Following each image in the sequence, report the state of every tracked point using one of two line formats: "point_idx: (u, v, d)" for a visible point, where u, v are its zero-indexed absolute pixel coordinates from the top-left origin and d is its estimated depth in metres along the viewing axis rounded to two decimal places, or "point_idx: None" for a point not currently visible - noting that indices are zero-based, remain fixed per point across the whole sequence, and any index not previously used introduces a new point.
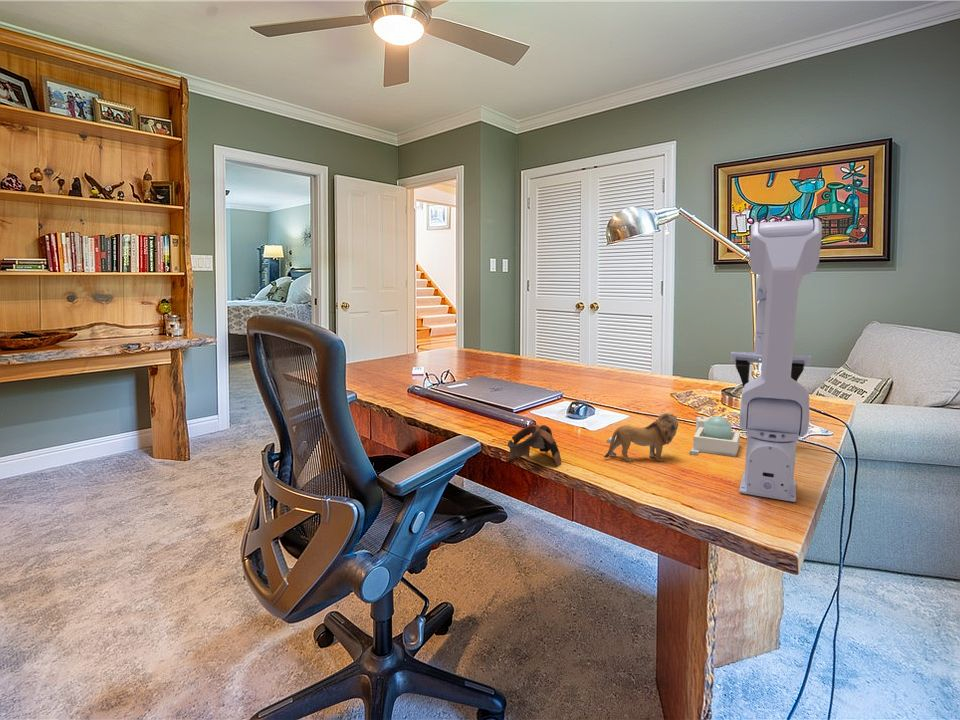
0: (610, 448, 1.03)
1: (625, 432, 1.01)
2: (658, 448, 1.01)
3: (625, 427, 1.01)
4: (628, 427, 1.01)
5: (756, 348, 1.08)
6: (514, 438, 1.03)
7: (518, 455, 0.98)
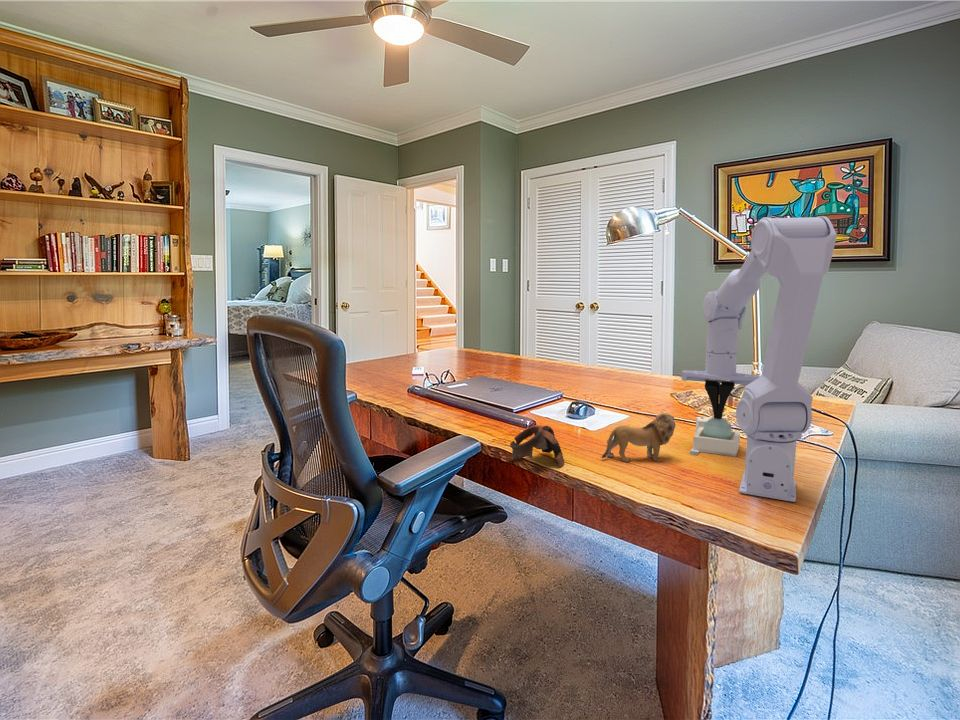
0: (607, 448, 1.03)
1: (623, 432, 1.01)
2: (655, 448, 1.00)
3: (622, 427, 1.01)
4: (625, 427, 1.01)
5: (706, 367, 1.06)
6: (516, 439, 1.03)
7: (521, 456, 0.98)
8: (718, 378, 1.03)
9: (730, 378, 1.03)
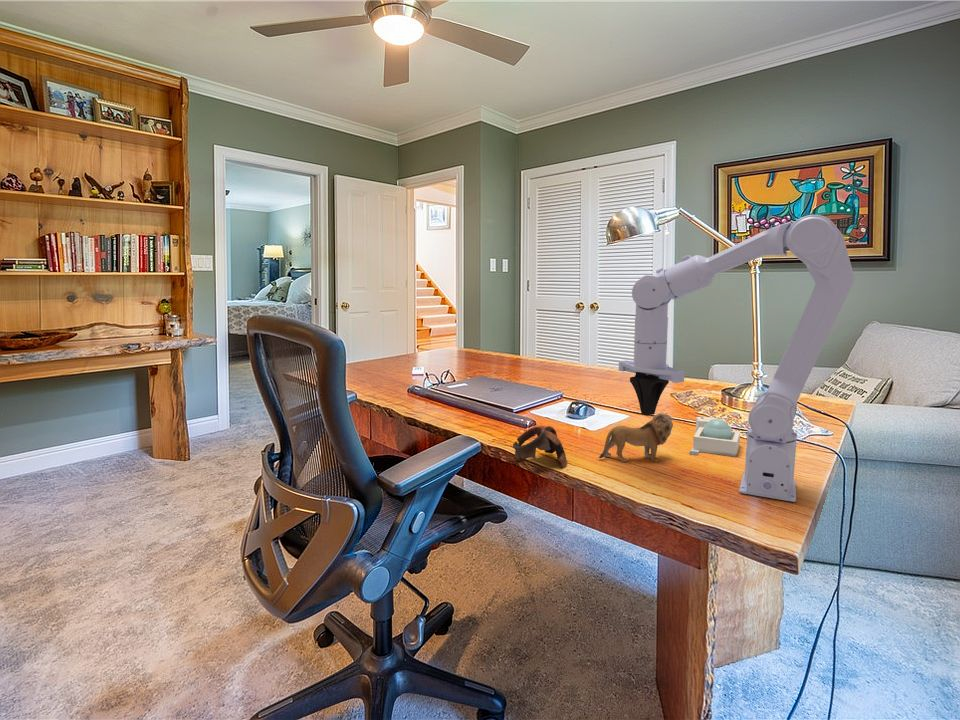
0: (605, 448, 1.03)
1: (620, 432, 1.01)
2: (652, 448, 1.00)
3: (620, 427, 1.01)
4: (623, 427, 1.01)
5: None
6: (519, 439, 1.02)
7: (524, 457, 0.97)
8: (637, 370, 0.95)
9: (647, 371, 0.93)
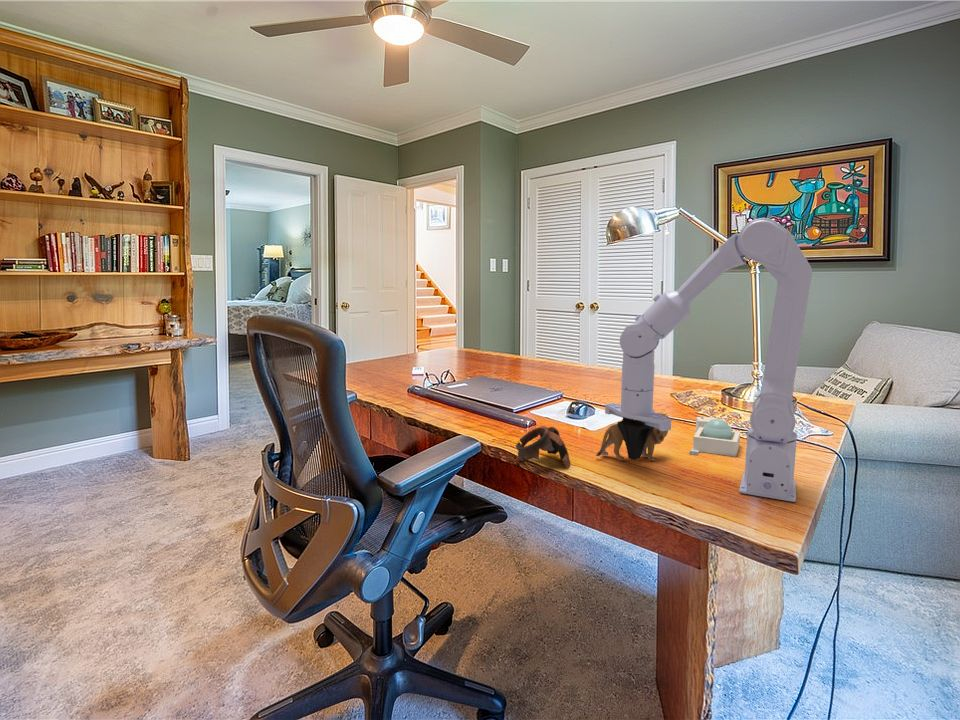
0: (602, 446, 1.03)
1: (618, 430, 1.01)
2: (649, 447, 1.01)
3: None
4: None
5: None
6: (522, 440, 1.02)
7: (527, 457, 0.97)
8: (624, 416, 0.96)
9: (635, 417, 0.94)
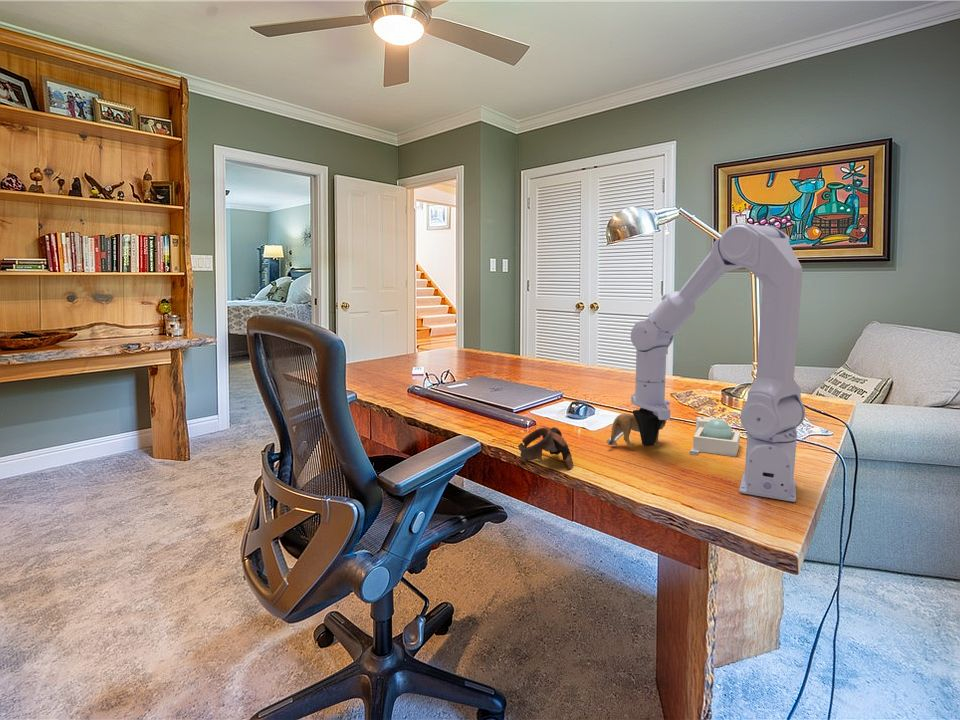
0: (612, 436, 1.09)
1: (625, 418, 1.08)
2: None
3: (624, 414, 1.09)
4: (627, 414, 1.09)
5: None
6: (524, 441, 1.01)
7: (530, 458, 0.96)
8: (635, 404, 1.05)
9: (642, 406, 1.03)
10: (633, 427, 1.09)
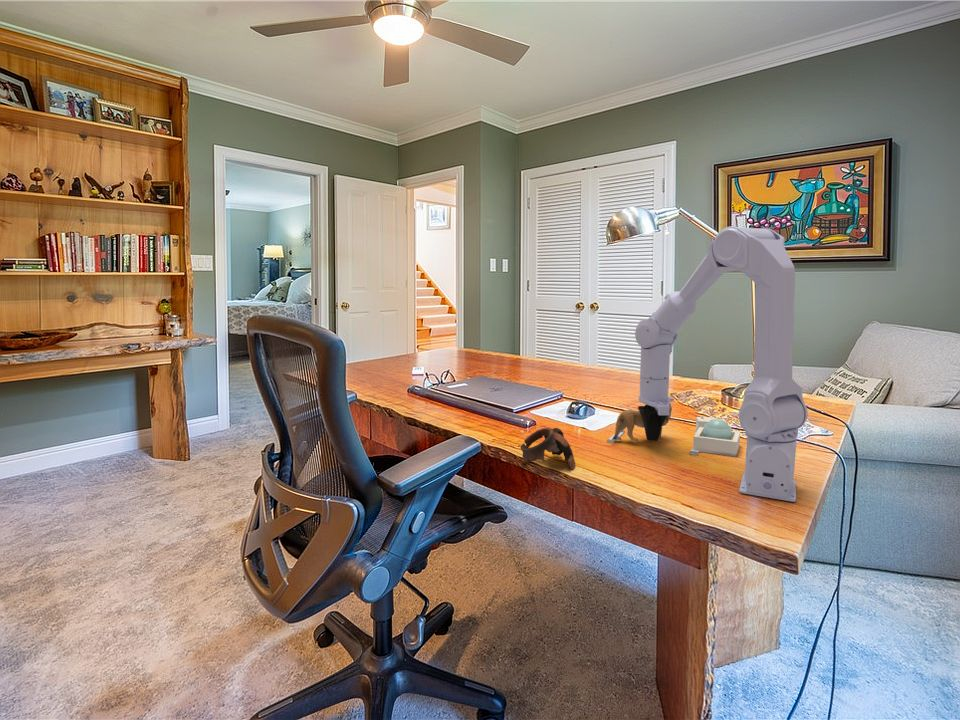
0: (616, 431, 1.12)
1: (629, 414, 1.11)
2: None
3: (628, 410, 1.12)
4: (631, 410, 1.12)
5: None
6: (526, 441, 1.01)
7: (532, 459, 0.96)
8: (639, 400, 1.09)
9: (644, 402, 1.07)
10: (637, 423, 1.12)
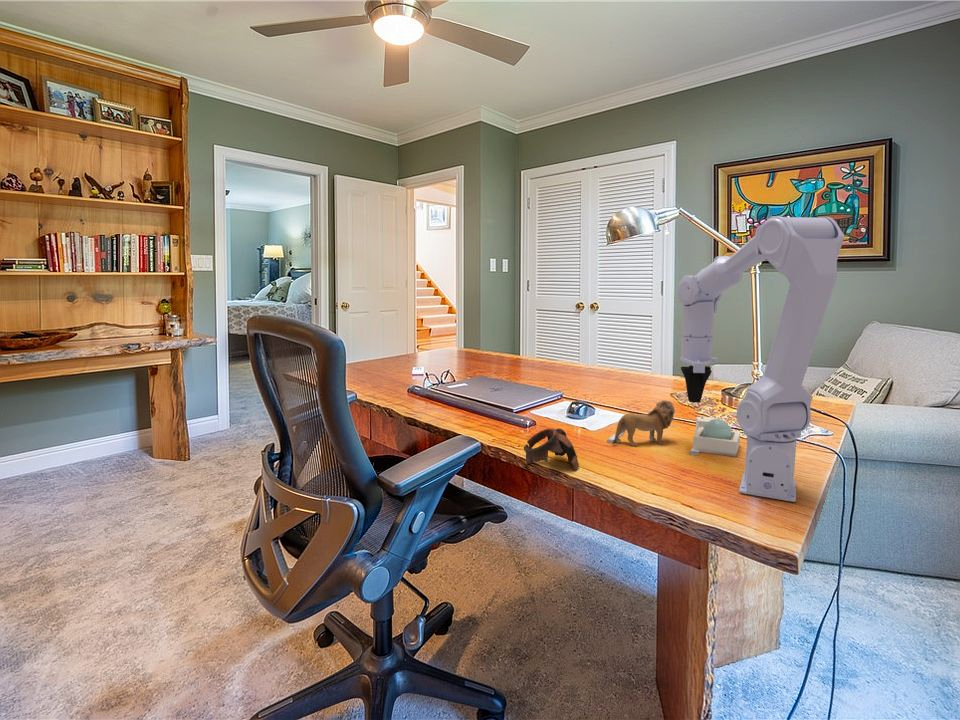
0: (616, 435, 1.11)
1: (631, 419, 1.10)
2: (659, 432, 1.11)
3: (630, 415, 1.11)
4: (633, 414, 1.11)
5: None
6: (529, 442, 1.00)
7: (536, 460, 0.95)
8: (680, 359, 1.06)
9: (683, 360, 1.04)
10: (638, 427, 1.11)
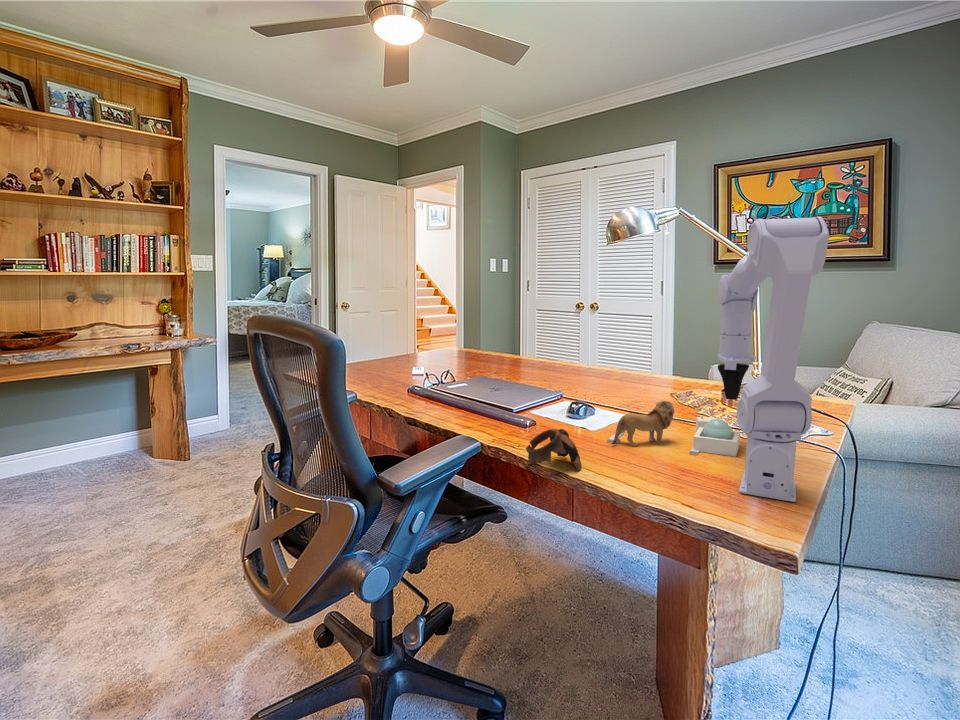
0: (616, 435, 1.11)
1: (631, 419, 1.10)
2: (659, 433, 1.11)
3: (630, 415, 1.10)
4: (632, 415, 1.10)
5: None
6: (532, 443, 1.00)
7: (539, 460, 0.95)
8: None
9: (719, 358, 1.07)
10: (637, 427, 1.11)
